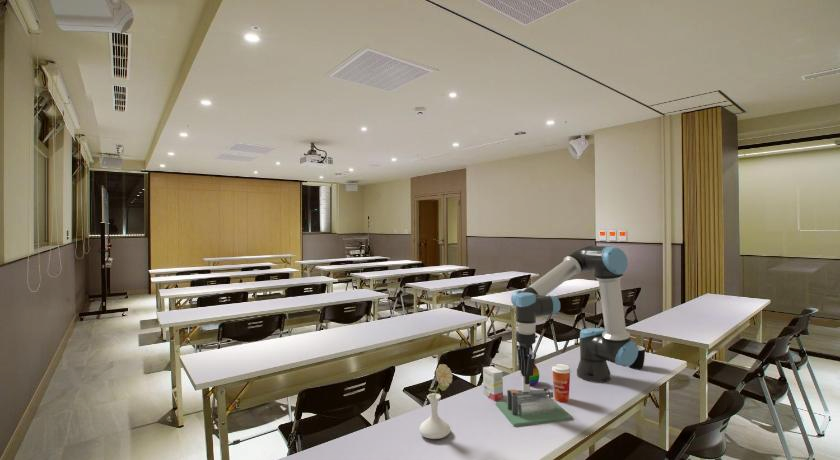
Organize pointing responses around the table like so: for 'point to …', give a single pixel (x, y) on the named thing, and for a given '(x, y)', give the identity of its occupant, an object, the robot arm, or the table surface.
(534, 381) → the decorative egg
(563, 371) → the paper cup
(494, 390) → the ink box
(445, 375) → the flower in vase
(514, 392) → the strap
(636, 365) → the mug
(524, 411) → the block
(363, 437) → the table surface
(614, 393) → the table surface
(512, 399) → the lug posts
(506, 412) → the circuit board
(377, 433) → the table surface
